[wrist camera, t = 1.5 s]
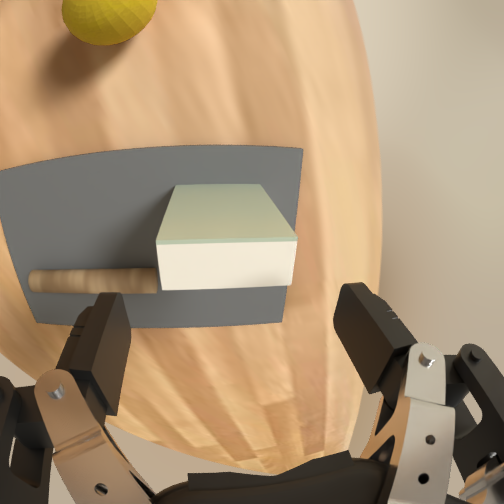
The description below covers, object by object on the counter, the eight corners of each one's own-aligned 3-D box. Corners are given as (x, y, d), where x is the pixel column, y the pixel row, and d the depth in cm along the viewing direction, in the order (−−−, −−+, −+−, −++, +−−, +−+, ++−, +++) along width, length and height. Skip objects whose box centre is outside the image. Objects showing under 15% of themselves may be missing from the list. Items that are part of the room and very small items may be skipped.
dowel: (35, 265, 20) (25, 277, 18) (155, 263, 22) (152, 276, 20) (41, 284, 21) (33, 296, 19) (158, 283, 23) (155, 298, 21)
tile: (175, 185, 19) (155, 240, 11) (260, 184, 20) (297, 237, 12) (177, 217, 20) (162, 290, 12) (258, 216, 21) (290, 284, 13)
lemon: (100, 67, 14) (46, 49, 7) (86, 11, 12) (37, -22, 5) (172, 36, 14) (154, -5, 7) (156, -19, 12) (135, -72, 5)
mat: (-4, 171, 16) (-8, 173, 15) (300, 148, 20) (303, 149, 19) (38, 319, 23) (36, 322, 22) (280, 318, 27) (281, 322, 27)
